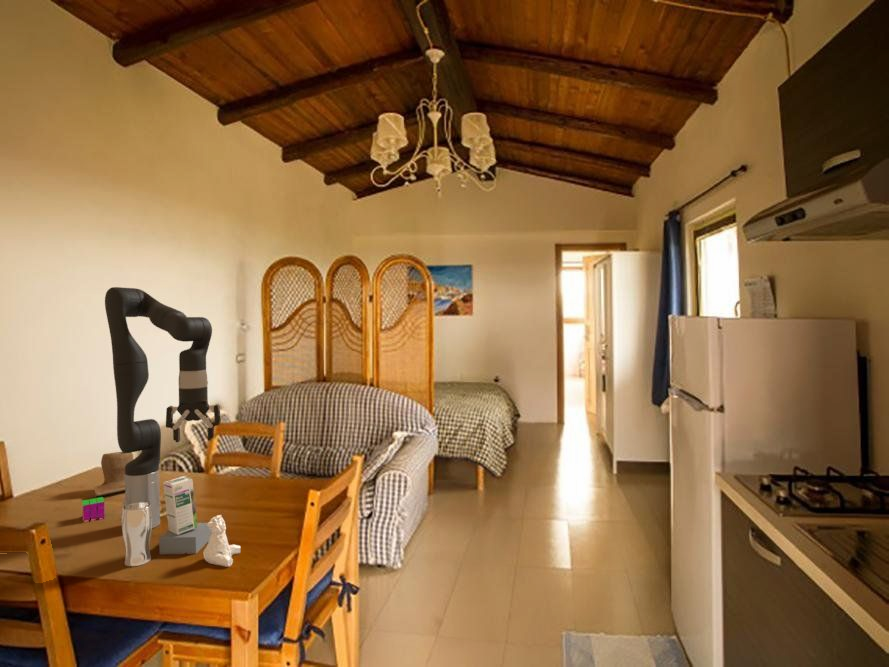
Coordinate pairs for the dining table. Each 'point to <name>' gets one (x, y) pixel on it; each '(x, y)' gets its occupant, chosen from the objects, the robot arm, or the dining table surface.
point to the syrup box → (180, 505)
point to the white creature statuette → (219, 544)
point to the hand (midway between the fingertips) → (194, 440)
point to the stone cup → (113, 473)
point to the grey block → (185, 540)
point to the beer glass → (137, 532)
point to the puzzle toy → (93, 508)
